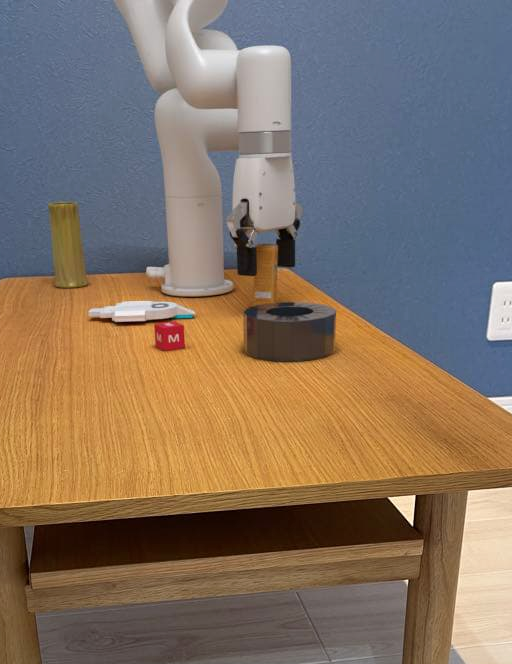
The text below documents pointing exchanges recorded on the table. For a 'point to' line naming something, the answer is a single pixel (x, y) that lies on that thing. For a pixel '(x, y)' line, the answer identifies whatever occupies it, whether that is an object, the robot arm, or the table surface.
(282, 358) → the tape roll
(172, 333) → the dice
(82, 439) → the table surface
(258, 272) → the supplement box
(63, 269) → the vase
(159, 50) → the robot arm
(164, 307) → the toy rocket
